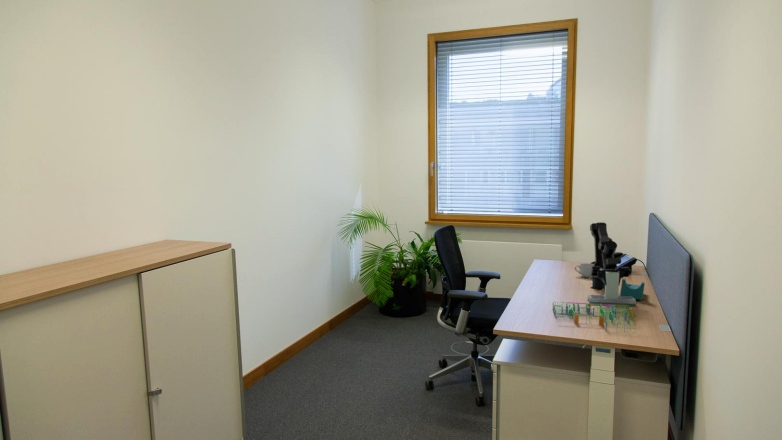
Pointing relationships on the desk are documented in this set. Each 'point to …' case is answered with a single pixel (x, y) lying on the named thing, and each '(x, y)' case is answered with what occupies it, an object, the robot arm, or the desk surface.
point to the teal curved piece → (632, 290)
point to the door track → (611, 300)
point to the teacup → (585, 269)
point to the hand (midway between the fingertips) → (612, 285)
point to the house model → (601, 311)
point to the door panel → (612, 285)
